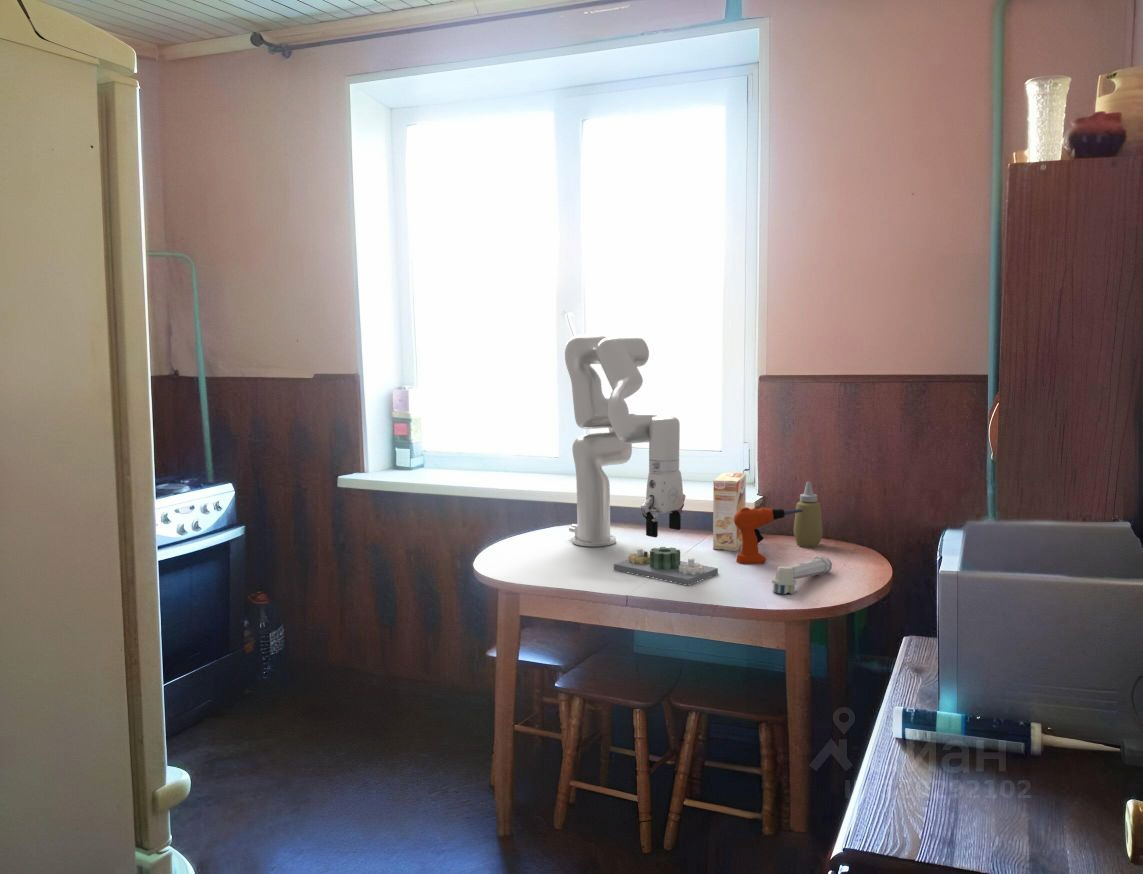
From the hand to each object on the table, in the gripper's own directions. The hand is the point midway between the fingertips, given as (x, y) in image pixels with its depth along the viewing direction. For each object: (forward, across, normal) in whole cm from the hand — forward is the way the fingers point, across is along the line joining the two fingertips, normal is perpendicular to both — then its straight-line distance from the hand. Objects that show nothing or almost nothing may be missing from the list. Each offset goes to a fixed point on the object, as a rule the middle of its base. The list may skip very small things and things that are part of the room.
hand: (663, 532), depth 224 cm
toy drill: (+10, +25, -16) cm, 31 cm away
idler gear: (+8, 0, -1) cm, 9 cm away
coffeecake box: (+11, +35, +2) cm, 36 cm away
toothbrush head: (+10, +12, -32) cm, 36 cm away
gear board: (+10, 0, -1) cm, 10 cm away
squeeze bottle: (+10, +47, -16) cm, 50 cm away
